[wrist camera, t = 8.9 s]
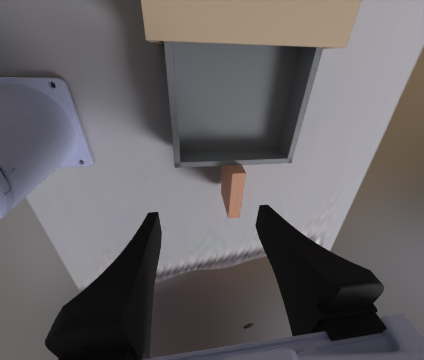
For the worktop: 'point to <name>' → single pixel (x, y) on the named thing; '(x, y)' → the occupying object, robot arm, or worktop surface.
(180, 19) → the sleeve
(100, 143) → the worktop surface
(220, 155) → the tray
